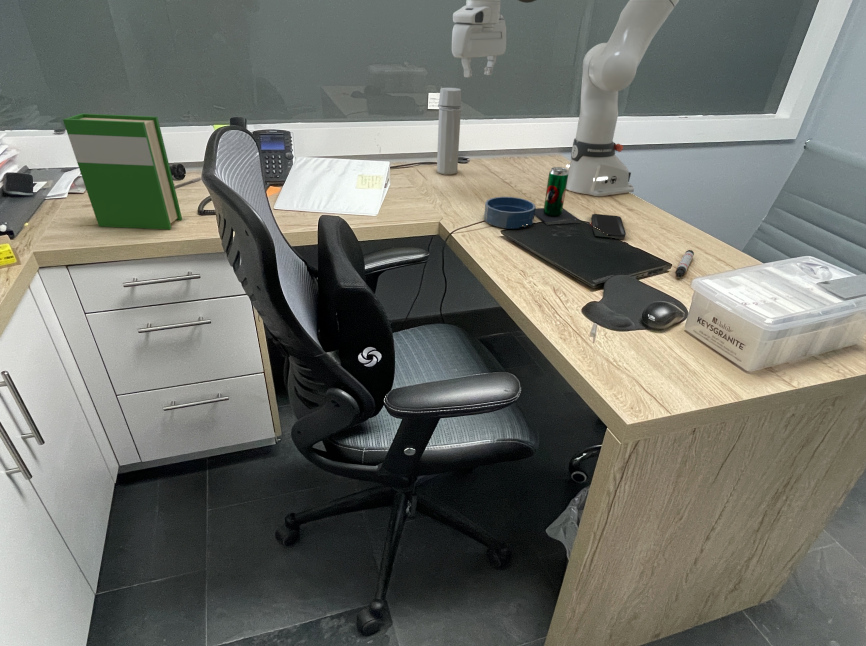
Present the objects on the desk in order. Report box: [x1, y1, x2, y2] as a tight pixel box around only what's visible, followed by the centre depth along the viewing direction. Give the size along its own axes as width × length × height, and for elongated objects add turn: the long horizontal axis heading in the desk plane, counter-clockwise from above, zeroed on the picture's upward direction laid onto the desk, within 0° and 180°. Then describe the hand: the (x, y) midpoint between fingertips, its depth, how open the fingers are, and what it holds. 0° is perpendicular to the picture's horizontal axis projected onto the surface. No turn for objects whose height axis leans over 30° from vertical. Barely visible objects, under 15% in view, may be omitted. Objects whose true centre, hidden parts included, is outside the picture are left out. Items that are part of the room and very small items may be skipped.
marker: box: [674, 249, 695, 278], centre depth 122 cm, size 15×2×2 cm, turn 150°
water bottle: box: [436, 87, 464, 176], centre depth 174 cm, size 9×8×25 cm
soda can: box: [543, 166, 569, 217], centre depth 145 cm, size 5×5×12 cm
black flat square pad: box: [534, 207, 581, 224], centre depth 149 cm, size 10×12×1 cm
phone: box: [590, 213, 627, 240], centre depth 142 cm, size 8×1×15 cm
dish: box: [483, 196, 537, 230], centre depth 144 cm, size 13×13×4 cm
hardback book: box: [62, 112, 183, 230], centre depth 129 cm, size 18×7×24 cm, turn 88°
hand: (478, 75), depth 147 cm, fingers open, 8 cm apart
